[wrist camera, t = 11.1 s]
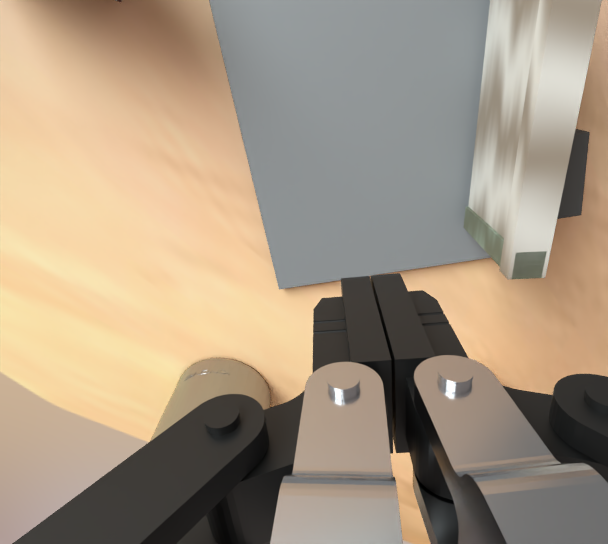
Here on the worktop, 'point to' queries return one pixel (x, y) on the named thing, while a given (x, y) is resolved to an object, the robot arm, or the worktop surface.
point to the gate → (527, 127)
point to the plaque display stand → (363, 130)
